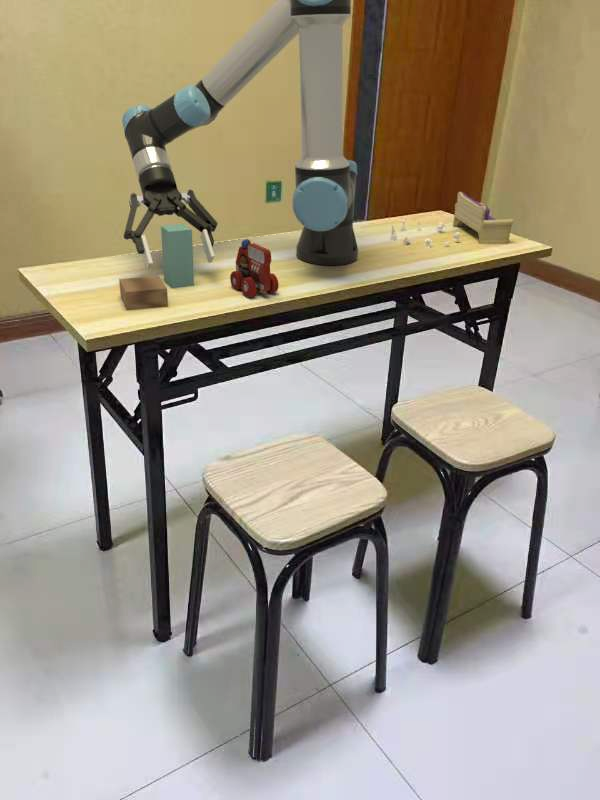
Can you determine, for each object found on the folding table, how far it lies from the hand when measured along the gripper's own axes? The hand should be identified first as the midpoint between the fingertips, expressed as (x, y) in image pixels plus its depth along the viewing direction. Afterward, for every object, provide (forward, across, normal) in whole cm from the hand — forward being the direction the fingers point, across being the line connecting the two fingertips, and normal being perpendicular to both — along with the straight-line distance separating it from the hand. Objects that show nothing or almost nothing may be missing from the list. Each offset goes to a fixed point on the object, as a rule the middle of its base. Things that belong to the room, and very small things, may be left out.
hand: (181, 263), depth 143 cm
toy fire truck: (+9, -13, +2) cm, 16 cm away
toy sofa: (-5, -92, -13) cm, 93 cm away
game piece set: (-6, -74, -14) cm, 76 cm away
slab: (+8, +10, 0) cm, 13 cm away
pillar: (+2, 0, -5) cm, 6 cm away
